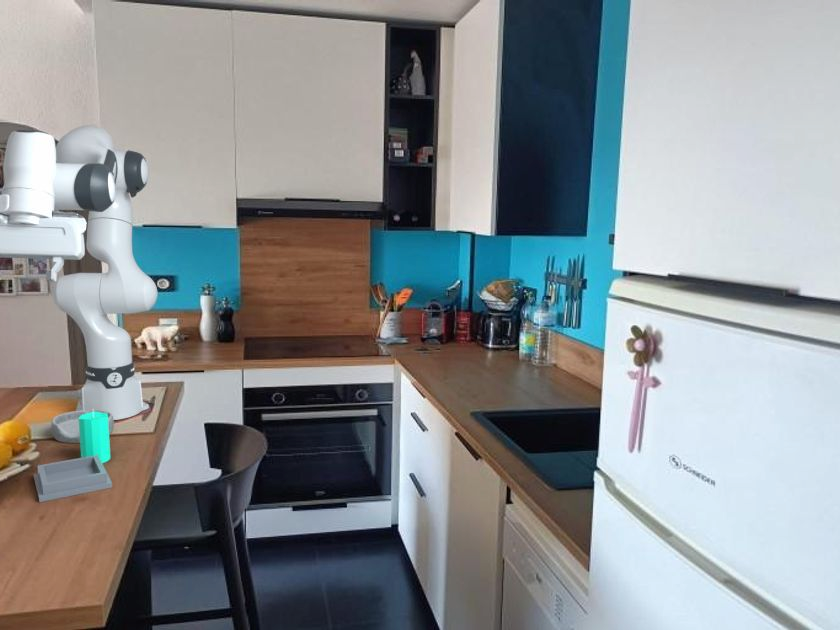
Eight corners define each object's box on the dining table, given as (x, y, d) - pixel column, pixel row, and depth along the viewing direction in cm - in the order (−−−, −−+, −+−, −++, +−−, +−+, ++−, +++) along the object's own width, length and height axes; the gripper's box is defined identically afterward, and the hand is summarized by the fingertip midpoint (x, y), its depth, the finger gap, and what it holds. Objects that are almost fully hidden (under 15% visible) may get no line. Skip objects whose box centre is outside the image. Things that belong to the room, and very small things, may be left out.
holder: (34, 478, 137) (33, 465, 137) (101, 465, 145) (100, 453, 144) (39, 502, 127) (38, 487, 126) (112, 487, 134) (111, 473, 133)
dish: (112, 442, 159) (111, 422, 158) (48, 448, 154) (46, 428, 153) (116, 423, 173) (115, 405, 172) (56, 428, 167) (55, 410, 167)
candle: (98, 466, 144) (95, 414, 142) (75, 463, 146) (71, 412, 144) (116, 456, 150) (113, 406, 148) (93, 453, 151) (90, 404, 149)
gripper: (90, 217, 131) (87, 284, 129) (-26, 212, 126) (-31, 282, 124) (83, 207, 125) (79, 278, 123) (-39, 202, 120) (-45, 275, 117)
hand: (23, 280), depth 123 cm, fingers open, 8 cm apart
